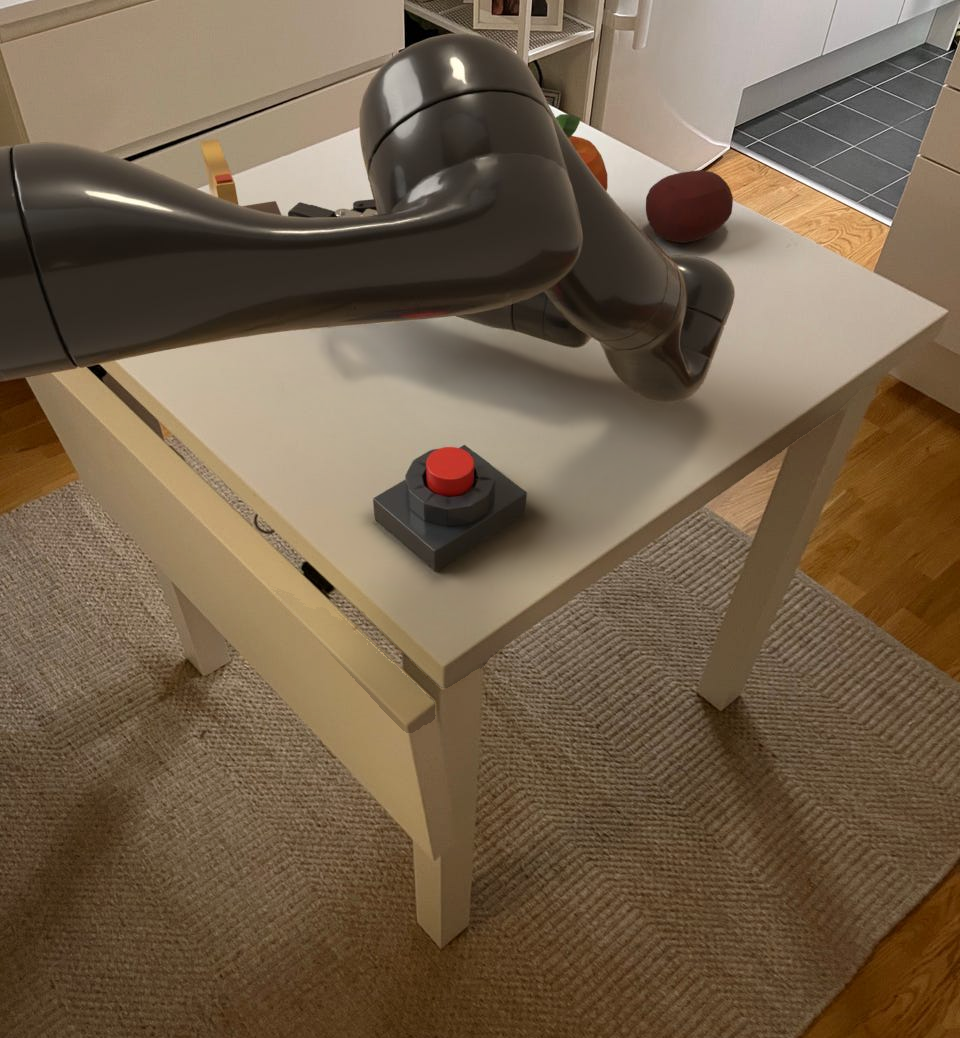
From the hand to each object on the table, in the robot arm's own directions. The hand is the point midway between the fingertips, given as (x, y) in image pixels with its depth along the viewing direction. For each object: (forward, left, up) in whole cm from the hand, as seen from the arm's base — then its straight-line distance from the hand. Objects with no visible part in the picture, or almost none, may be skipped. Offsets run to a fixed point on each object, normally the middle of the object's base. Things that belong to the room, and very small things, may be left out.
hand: (293, 217), depth 84 cm
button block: (+12, -27, -9) cm, 31 cm away
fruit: (+24, +13, -9) cm, 29 cm away
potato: (+37, +11, -9) cm, 40 cm away
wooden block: (-7, +7, -7) cm, 12 cm away
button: (+12, -27, -5) cm, 30 cm away
